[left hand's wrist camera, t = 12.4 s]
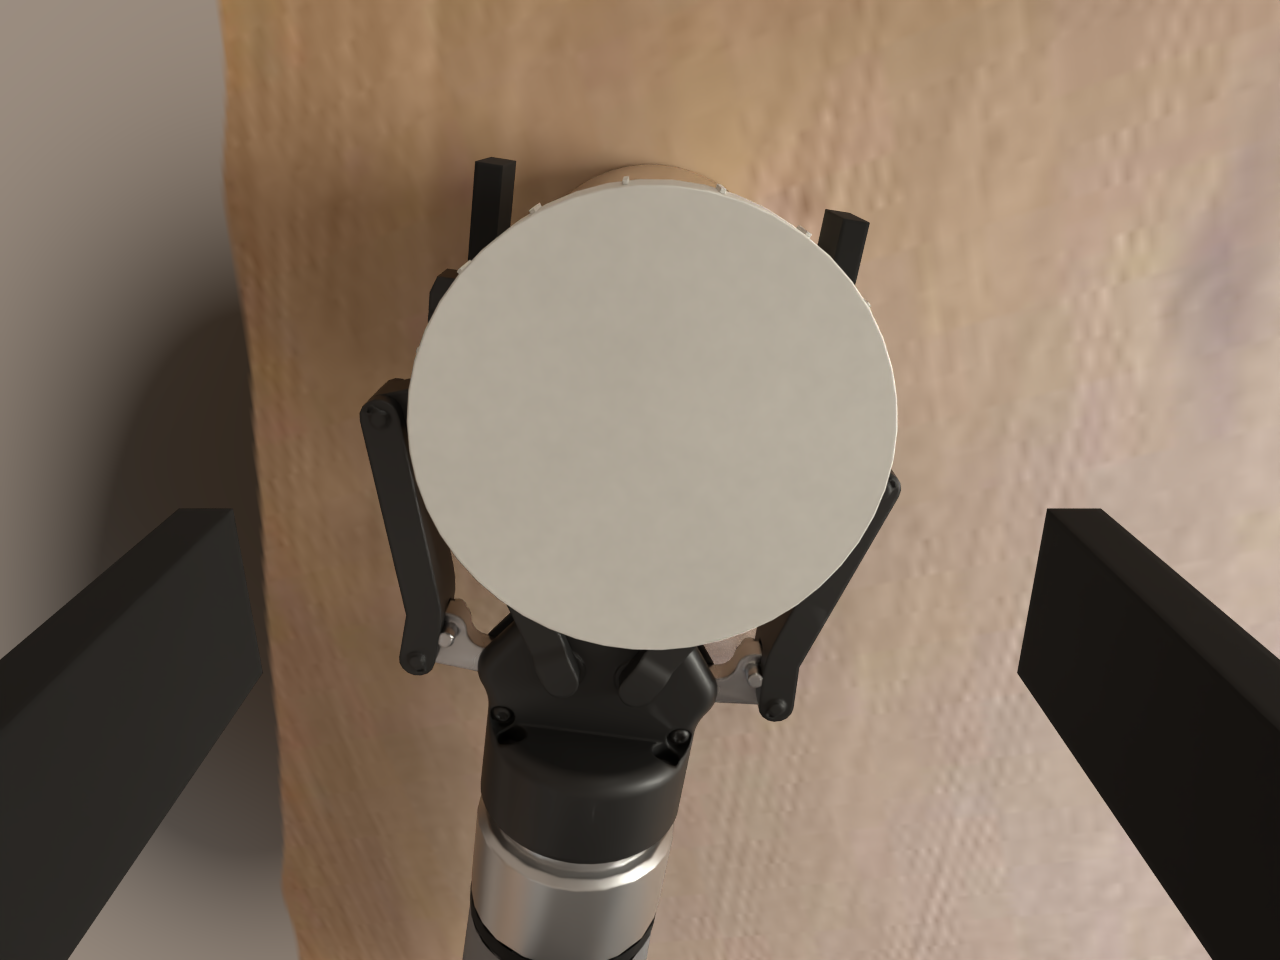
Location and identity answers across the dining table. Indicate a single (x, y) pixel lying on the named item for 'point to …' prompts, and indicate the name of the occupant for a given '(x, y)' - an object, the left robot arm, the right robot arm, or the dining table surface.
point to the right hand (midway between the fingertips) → (673, 188)
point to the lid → (652, 415)
